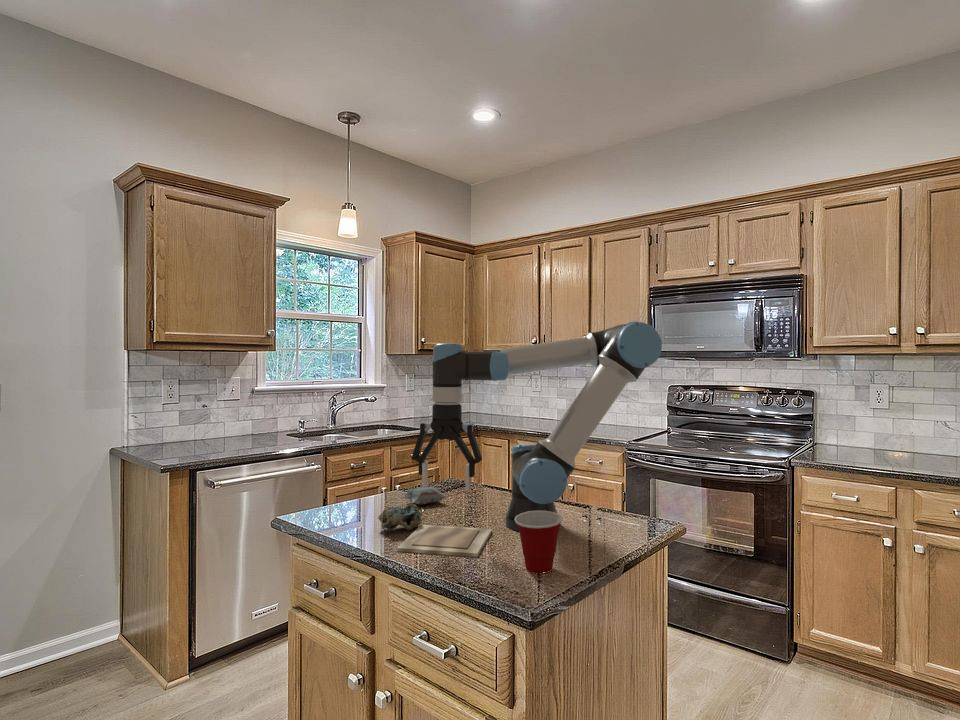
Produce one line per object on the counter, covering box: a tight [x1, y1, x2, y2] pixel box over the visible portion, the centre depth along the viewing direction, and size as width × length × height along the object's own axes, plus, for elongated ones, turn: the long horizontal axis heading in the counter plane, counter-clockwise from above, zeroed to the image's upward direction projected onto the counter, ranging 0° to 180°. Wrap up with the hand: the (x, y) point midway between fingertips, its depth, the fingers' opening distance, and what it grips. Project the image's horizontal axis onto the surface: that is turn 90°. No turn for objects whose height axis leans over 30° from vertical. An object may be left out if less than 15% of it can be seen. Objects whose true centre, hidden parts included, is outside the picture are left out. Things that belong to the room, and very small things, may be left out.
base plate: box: [396, 524, 493, 558], centre depth 149 cm, size 20×20×1 cm
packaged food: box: [404, 486, 448, 505], centre depth 187 cm, size 9×12×5 cm
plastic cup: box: [514, 511, 563, 574], centre depth 129 cm, size 11×11×12 cm
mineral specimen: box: [377, 503, 423, 531], centre depth 159 cm, size 12×9×8 cm
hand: (446, 488), depth 149 cm, fingers open, 11 cm apart
